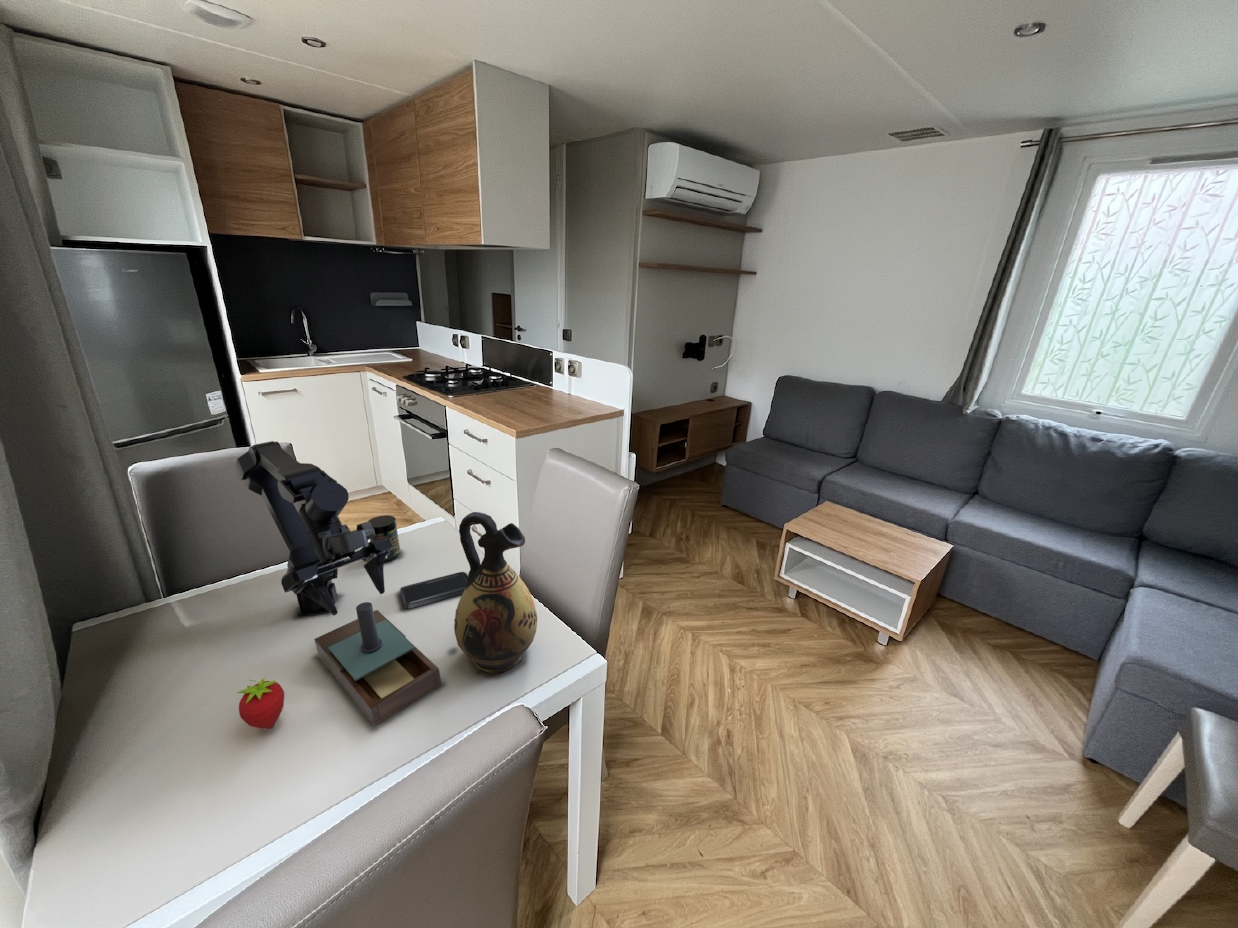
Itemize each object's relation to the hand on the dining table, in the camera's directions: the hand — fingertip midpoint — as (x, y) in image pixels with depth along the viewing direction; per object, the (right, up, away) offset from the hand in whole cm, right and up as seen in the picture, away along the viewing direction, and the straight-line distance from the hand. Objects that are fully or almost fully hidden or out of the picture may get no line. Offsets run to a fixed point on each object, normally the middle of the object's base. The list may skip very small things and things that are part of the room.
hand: (360, 603), depth 91 cm
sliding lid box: (+3, -13, +1) cm, 13 cm away
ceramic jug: (+24, -12, +5) cm, 27 cm away
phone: (+5, -4, +24) cm, 25 cm away
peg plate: (+2, -8, 0) cm, 9 cm away
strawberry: (-9, -17, -11) cm, 22 cm away
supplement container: (-13, +1, +38) cm, 40 cm away
